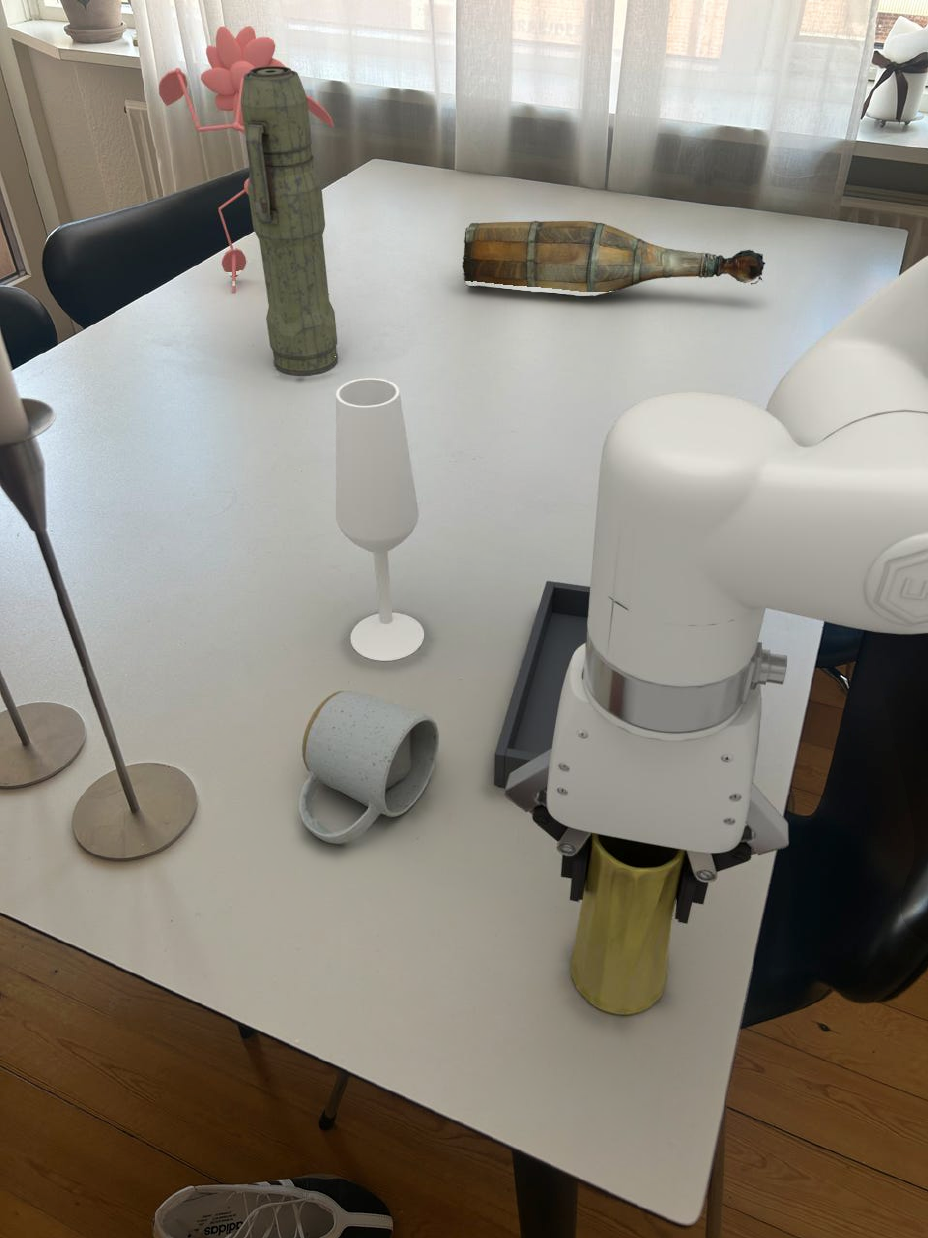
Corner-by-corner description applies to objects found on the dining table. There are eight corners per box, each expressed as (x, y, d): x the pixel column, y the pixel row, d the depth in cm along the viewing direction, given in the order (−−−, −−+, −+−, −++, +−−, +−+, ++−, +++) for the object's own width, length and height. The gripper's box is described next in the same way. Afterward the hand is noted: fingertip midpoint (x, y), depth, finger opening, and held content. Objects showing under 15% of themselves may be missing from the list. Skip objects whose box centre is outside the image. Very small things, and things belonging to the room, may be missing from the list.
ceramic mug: (355, 731, 78) (346, 661, 73) (443, 768, 75) (439, 698, 70) (275, 824, 71) (258, 755, 66) (367, 869, 68) (357, 800, 63)
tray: (716, 636, 87) (722, 605, 84) (701, 824, 71) (708, 792, 68) (544, 610, 90) (546, 580, 87) (493, 785, 74) (494, 753, 71)
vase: (645, 1034, 58) (672, 897, 49) (553, 987, 61) (564, 849, 52) (680, 954, 62) (712, 814, 53) (593, 913, 65) (610, 773, 56)
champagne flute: (420, 609, 90) (408, 369, 75) (428, 656, 85) (417, 410, 70) (348, 616, 89) (321, 375, 74) (352, 664, 84) (323, 417, 69)
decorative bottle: (453, 280, 145) (762, 303, 135) (460, 206, 143) (775, 224, 133) (469, 293, 155) (757, 315, 146) (476, 223, 153) (769, 241, 144)
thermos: (351, 346, 135) (326, 61, 112) (321, 383, 126) (286, 82, 103) (292, 340, 136) (255, 58, 114) (258, 376, 128) (211, 79, 105)
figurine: (341, 301, 147) (315, 36, 125) (181, 292, 151) (128, 33, 128) (365, 265, 159) (346, 17, 136) (216, 257, 162) (174, 14, 140)
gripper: (856, 635, 46) (782, 867, 57) (502, 587, 49) (500, 814, 61) (867, 751, 40) (783, 981, 52) (466, 687, 43) (472, 916, 55)
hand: (630, 889), depth 56 cm, fingers closed on vase, 5 cm apart
